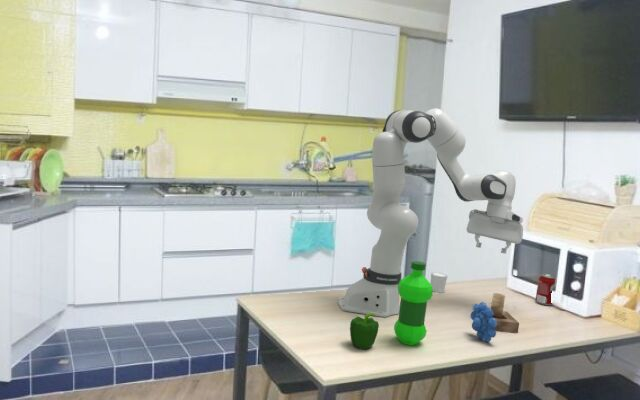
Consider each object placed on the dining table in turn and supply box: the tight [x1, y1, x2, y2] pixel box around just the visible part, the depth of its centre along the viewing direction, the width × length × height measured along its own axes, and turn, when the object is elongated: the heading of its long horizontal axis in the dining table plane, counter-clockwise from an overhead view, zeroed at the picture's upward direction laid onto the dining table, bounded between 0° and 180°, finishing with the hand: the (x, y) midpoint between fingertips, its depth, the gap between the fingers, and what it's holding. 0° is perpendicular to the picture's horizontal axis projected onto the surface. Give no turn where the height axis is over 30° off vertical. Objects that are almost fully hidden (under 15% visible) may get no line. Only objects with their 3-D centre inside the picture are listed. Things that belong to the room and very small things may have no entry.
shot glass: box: [430, 272, 448, 293], centre depth 230 cm, size 7×7×7 cm
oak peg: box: [490, 292, 506, 319], centre depth 193 cm, size 4×4×11 cm
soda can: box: [535, 273, 556, 307], centre depth 227 cm, size 7×7×12 cm
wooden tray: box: [494, 310, 520, 334], centre depth 193 cm, size 12×12×4 cm
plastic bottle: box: [393, 260, 434, 346], centre depth 167 cm, size 10×10×25 cm
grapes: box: [470, 301, 497, 343], centre depth 177 cm, size 12×7×12 cm, turn 25°
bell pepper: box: [349, 313, 380, 350], centre depth 161 cm, size 8×8×10 cm
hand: (490, 250), depth 204 cm, fingers open, 8 cm apart
